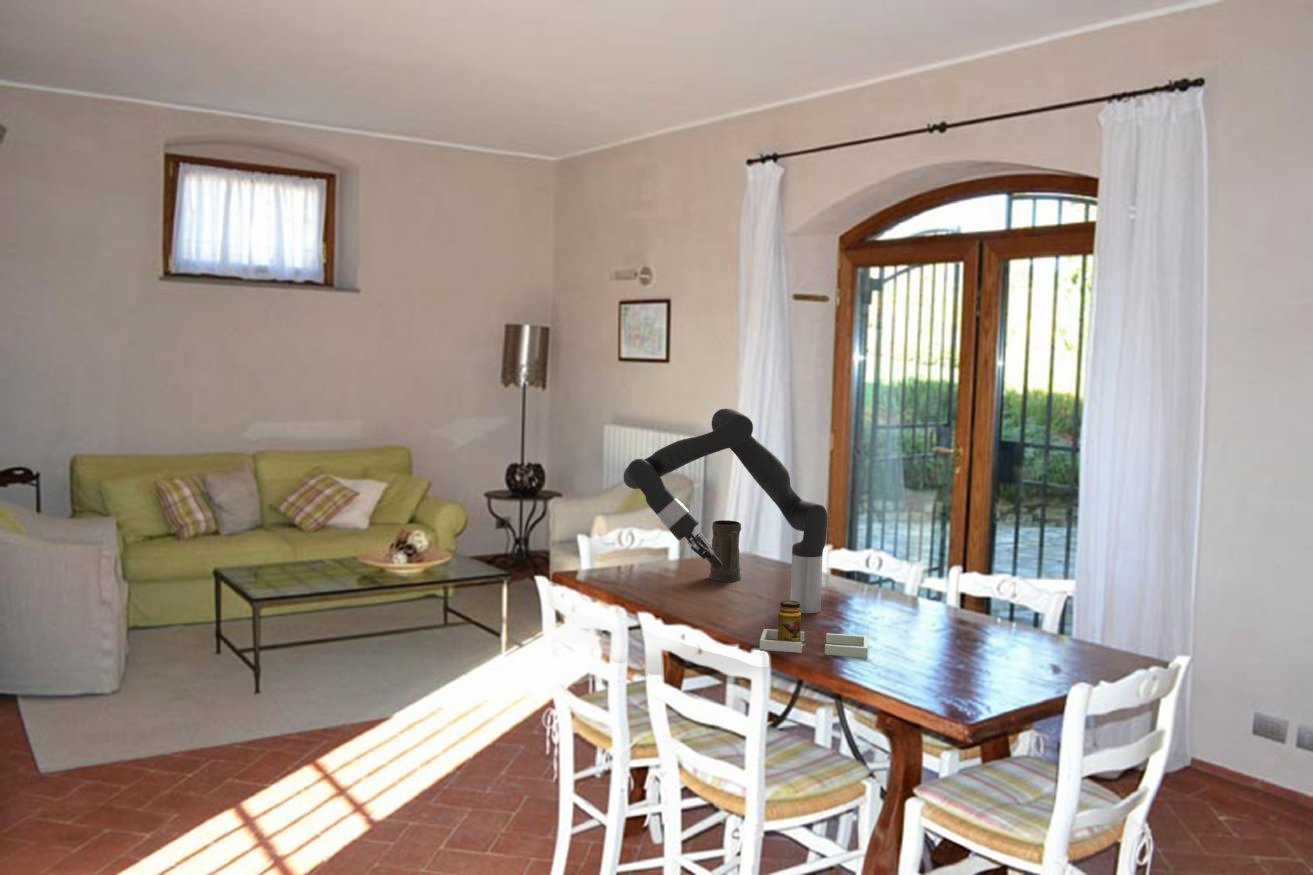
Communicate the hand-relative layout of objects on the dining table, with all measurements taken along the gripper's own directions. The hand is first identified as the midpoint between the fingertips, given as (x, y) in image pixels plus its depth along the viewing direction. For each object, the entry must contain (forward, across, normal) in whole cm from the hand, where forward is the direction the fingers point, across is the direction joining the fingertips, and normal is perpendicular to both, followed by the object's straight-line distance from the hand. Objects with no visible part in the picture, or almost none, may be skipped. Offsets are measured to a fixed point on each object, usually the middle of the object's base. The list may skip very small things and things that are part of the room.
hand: (719, 566), depth 303 cm
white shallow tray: (+38, -2, -11) cm, 39 cm away
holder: (+27, -2, 0) cm, 27 cm away
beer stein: (+9, +77, +17) cm, 79 cm away
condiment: (+27, -2, 0) cm, 27 cm away
